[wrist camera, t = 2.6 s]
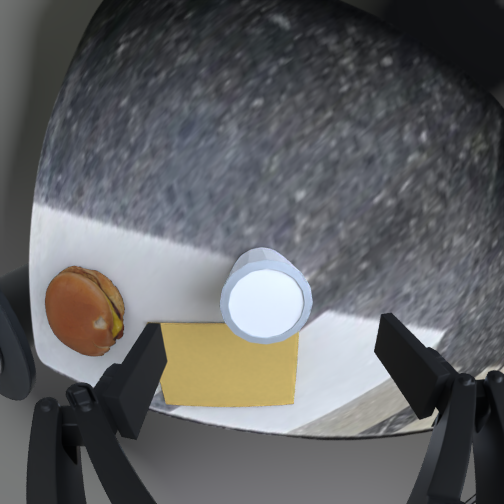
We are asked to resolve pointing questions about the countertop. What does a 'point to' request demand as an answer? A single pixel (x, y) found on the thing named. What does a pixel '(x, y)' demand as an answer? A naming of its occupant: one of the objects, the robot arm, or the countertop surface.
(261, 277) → the shot glass
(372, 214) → the countertop surface
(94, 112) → the countertop surface
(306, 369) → the countertop surface
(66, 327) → the burger
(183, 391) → the cloth
